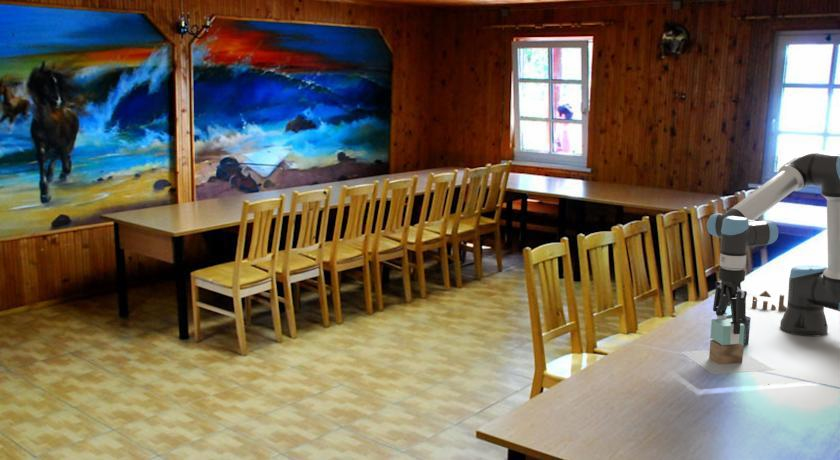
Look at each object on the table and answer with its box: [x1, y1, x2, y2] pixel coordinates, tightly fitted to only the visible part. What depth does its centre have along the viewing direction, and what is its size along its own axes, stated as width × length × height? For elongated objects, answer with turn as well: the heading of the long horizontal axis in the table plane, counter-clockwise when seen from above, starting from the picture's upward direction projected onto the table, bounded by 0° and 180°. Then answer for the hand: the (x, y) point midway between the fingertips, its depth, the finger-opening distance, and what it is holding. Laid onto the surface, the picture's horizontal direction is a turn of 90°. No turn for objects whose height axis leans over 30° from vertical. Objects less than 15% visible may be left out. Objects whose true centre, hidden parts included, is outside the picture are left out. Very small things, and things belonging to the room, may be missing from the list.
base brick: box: [709, 339, 745, 364], centre depth 252 cm, size 8×6×6 cm
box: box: [726, 314, 751, 346], centre depth 268 cm, size 8×6×11 cm
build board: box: [680, 349, 775, 375], centre depth 253 cm, size 20×20×1 cm
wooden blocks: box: [727, 290, 787, 312], centre depth 313 cm, size 30×3×7 cm, turn 65°
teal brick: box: [709, 318, 745, 345], centre depth 251 cm, size 7×7×6 cm
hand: (727, 339), depth 251 cm, fingers closed on teal brick, 7 cm apart
